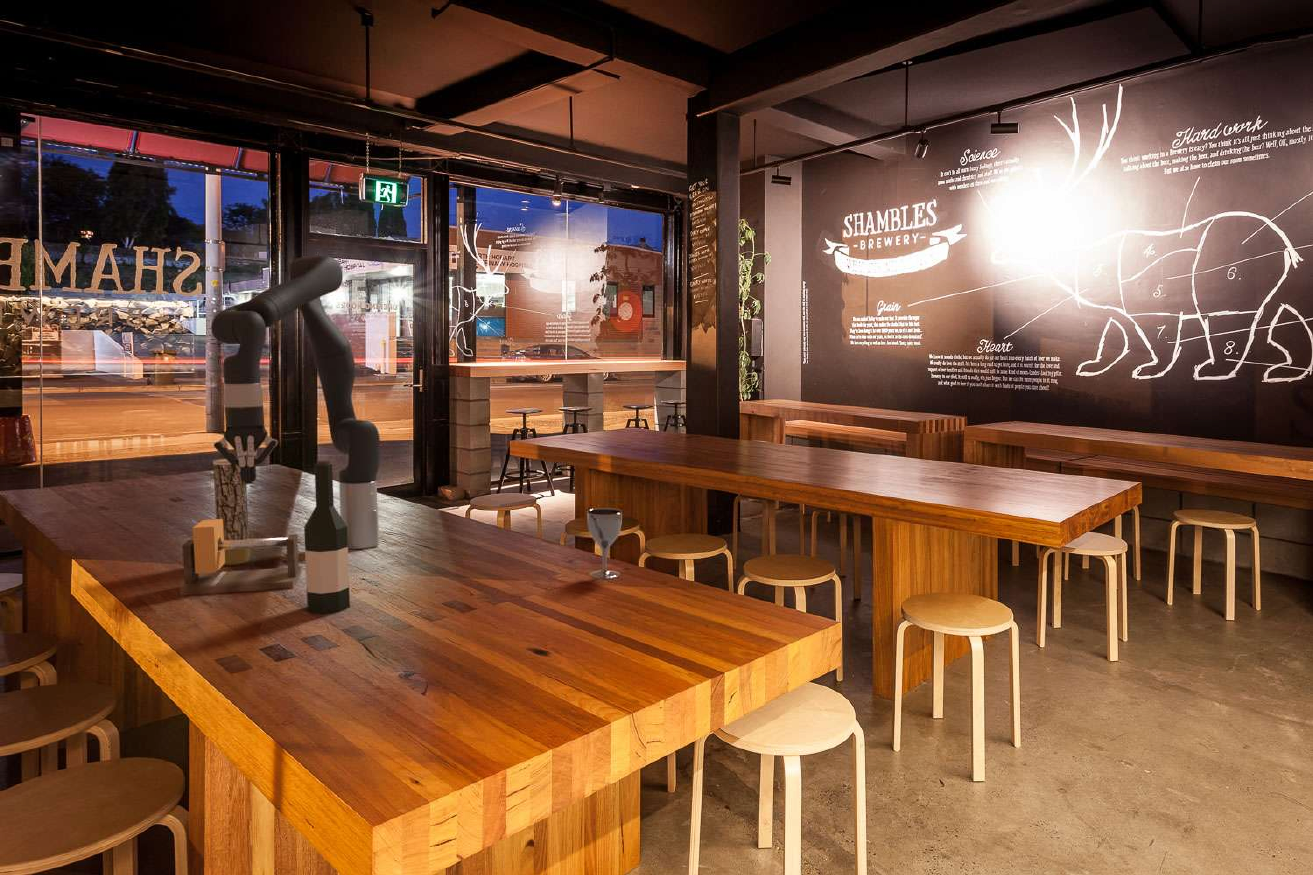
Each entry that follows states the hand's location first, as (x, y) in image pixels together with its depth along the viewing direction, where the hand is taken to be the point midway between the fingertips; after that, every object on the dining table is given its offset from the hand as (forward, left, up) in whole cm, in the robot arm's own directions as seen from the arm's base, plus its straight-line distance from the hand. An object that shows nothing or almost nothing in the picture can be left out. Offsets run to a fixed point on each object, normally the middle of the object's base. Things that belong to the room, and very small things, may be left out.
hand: (248, 483), depth 180 cm
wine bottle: (-18, +22, -23) cm, 36 cm away
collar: (+9, 0, -18) cm, 20 cm away
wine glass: (-77, +12, -23) cm, 81 cm away
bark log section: (+8, -20, -23) cm, 32 cm away
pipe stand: (+2, 0, -23) cm, 23 cm away
